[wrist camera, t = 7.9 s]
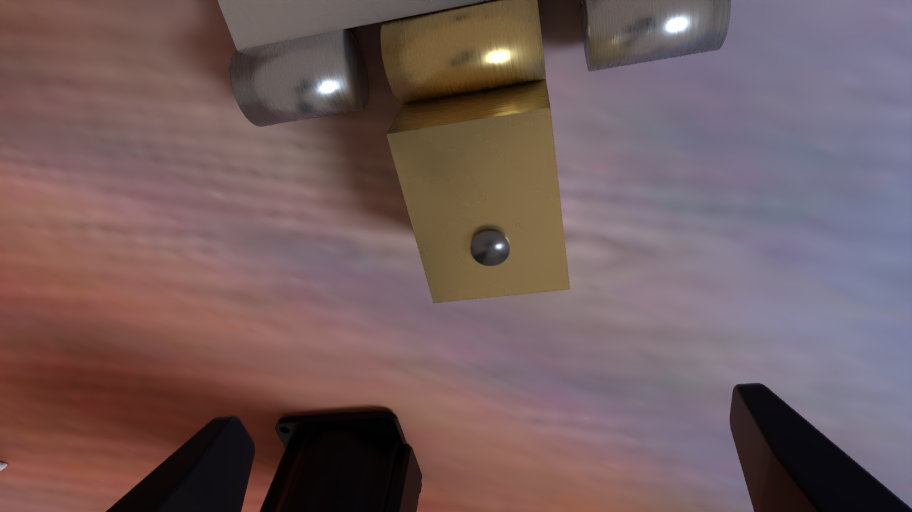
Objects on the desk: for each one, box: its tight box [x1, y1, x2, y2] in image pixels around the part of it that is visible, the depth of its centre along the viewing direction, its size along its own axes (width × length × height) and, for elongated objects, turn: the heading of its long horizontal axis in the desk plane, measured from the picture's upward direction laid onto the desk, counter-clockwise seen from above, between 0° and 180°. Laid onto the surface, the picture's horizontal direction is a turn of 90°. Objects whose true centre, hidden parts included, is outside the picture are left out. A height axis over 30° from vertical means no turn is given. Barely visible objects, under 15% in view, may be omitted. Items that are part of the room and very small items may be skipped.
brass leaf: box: [381, 0, 570, 303], centre depth 17 cm, size 4×8×4 cm, turn 11°
